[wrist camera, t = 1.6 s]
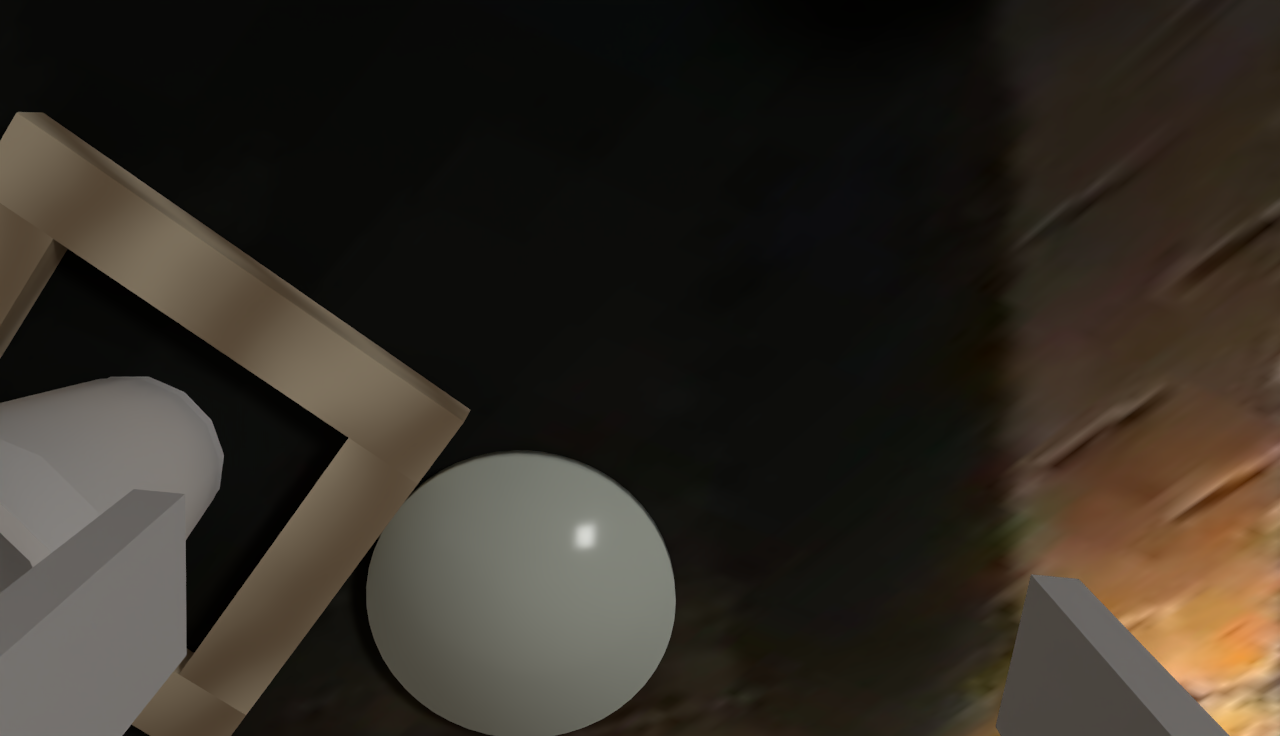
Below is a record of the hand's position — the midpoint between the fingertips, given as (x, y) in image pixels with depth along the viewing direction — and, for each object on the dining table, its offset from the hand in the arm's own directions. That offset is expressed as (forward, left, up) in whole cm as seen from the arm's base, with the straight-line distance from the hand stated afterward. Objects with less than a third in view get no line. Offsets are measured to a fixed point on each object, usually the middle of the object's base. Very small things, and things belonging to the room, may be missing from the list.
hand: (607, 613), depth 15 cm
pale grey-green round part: (+3, -11, -22) cm, 24 cm away
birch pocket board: (-11, -15, -22) cm, 29 cm away
